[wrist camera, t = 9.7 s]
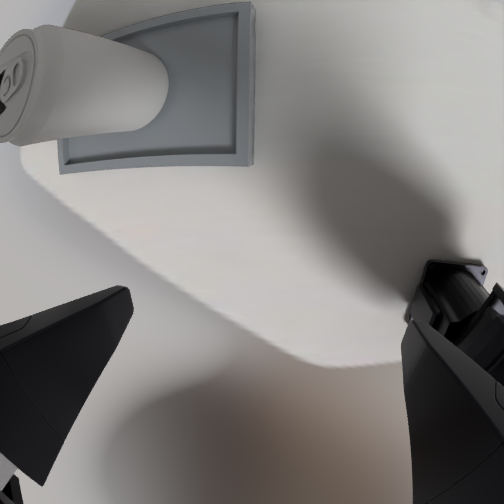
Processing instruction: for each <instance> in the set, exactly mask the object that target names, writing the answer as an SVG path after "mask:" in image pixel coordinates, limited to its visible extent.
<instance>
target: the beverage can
mask: <svg viewBox="0 0 504 504" xmlns="http://www.w3.org/2000/svg"><path fill="white" fill-rule="evenodd" d="M168 86H169V80H168V74H167V70H166V68H165V66H164V64H163V63H162V62H161V60H160V59H159V58H157V57H156V56H154V55H153V54H150V53H148V52H145V51H142V50H139V49H137V48H134V47H131V46H128V45H125V44H122V43H119V42H116V41H112V40H109V39H106V38H102V37H99V36H95V35H92V34H88V33H84V32H80V31H76V30H72V29H67V28H63V27H58V26H53V25H42V26H40V27H37V28H35V29H33V30H31V29H23V30H20V31H19V32H17V33H15V34H14V35H13V36H12V37H11V38H10V39H9V40H8V41H7V42H6V43H5V45H4V46H3V48H2V49H1V51H0V143H3V142H7V141H9V142H11V143H12V144H14V145H16V146H25V145H29V144H34V143H40V142H45V141H51V140H57V139H63V138H70V137H77V136H85V135H93V134H103V133H113V132H126V131H134V130H138V129H140V128H142V127H144V126H145V125H147V124H148V123H150V122H151V121H152V120H153V119H154V118H155V117H156V116H157V114H158V113H159V112H160V110H161V108H162V107H163V105H164V102H165V100H166V97H167V93H168Z"/></svg>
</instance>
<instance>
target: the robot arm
mask: <svg viewBox="0 0 504 504" xmlns="http://www.w3.org/2000/svg"><path fill="white" fill-rule="evenodd" d="M431 265H434V266H433V267H432V268H430V266H431ZM482 271H483V272H482ZM481 272H482V273H481ZM487 272H488V270H487V268H486V267H485V266H484V265H477V264H468V263H459V262H450V261H441V260H429V261H428V262H427V263H426V265H425V269H424V273H423V276H422V280H421V283H420V284H419V286H418V287H417V290H416V294H415V297H414V300H413V303H412V306H411V309H410V313H411V315H410V317H409V320H408V327H407V329H406V332H405V334H404V337H403V340H402V343H401V354H402V366H403V384H404V395H405V402H406V409H407V417H408V425H409V435H410V446H411V459H412V478H413V479H412V480H413V504H504V288H502V287H501V286H500V285H499V284H498V283H496V284H495V286H494V287H493V288H492V289H493V291H492V292H491V294H489V293H488V292H487V291H486V289H485V288H484V287H483V284H484V281H485V278H486V275H487ZM133 309H134V307H133V303H132V299H131V294H130V290H129V289H128V288H127V287H125V286H118V285H117V286H114V287H111V288H108V289H105V290H102V291H99V292H96V293H93V294H91V295H88V296H85V297H82V298H79V299H76V300H73V301H70V302H68V303H65V304H62V305H59V306H56V307H53V308H50V309H48V310H45V311H42V312H39V313H36V314H34V315H33V316H32V315H31V316H28V317H25V318H22V319H19V320H16V321H13V322H10V323H7V324H4V325H1V326H0V504H23V500H22V495H21V490H20V485H19V478H18V477H16V475H14V472H15V471H16V470H17V468H18V469H20V470H21V471H22V472H23V473H25V474H26V475H27V476H29V477H30V478H31V479H32V480H34V481H35V482H37V483H38V484H39V485H40V486H43V485H44V483H45V481H46V479H47V477H48V475H49V473H50V470H51V468H52V466H53V464H54V462H55V460H56V458H57V456H58V454H59V452H60V450H61V447H62V445H63V443H64V441H65V439H66V437H67V435H68V433H69V431H70V429H71V427H72V426H73V424H74V422H75V420H76V418H77V416H78V414H79V412H80V410H81V408H82V407H83V405H84V403H85V401H86V399H87V398H88V396H89V394H90V392H91V390H92V388H93V387H94V385H95V383H96V382H97V380H98V378H99V377H100V375H101V373H102V371H103V370H104V368H105V366H106V364H107V363H108V361H109V360H110V358H111V356H112V354H113V353H114V351H115V349H116V347H117V346H118V343H119V342H120V339H121V337H122V335H123V333H124V331H125V329H126V327H127V325H128V323H129V321H130V319H131V317H132V315H133V311H134V310H133Z"/></svg>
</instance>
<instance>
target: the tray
mask: <svg viewBox="0 0 504 504" xmlns="http://www.w3.org/2000/svg"><path fill="white" fill-rule="evenodd" d="M255 13H256V10H255V8H254V6H253V5H252V3H251V2H239V3H230V4H222V5H215V6H208V7H202V8H197V9H191V10H186V11H182V12H177V13H173V14H169V15H165V16H161V17H157V18H153V19H150V20H146V21H143V22H140V23H137V24H133V25H130V26H127V27H124V28H122V29H119V30H116V31H113V32H111V33H108V34H105V35H103V36H100V37H102V38H106V39H109V40H112V41H116V42H119V43H122V44H125V45H128V46H131V47H134V48H137V49H139V50H142V51H145V52H148V53H150V54H153V55H154V56H156V57H157V58H159V59H160V60H161V62H162V63H163V64H164V66H165V68H166V70H167V74H168V80H169V86H168V93H167V97H166V100H165V102H164V105H163V107H162V108H161V110H160V112H159V113H158V114H157V116H156V117H155V118H154V119H153V120H152V121H151V122H150V123H148V124H147V125H145V126H144V127H142V128H140V129H138V130H134V131H126V132H113V133H103V134H93V135H85V136H77V137H70V138H63V139H57V142H58V159H59V171H60V175H61V174H69V173H78V172H87V171H98V170H110V169H124V168H140V167H164V166H247V167H248V166H251V165H253V158H254V86H255Z"/></svg>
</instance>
